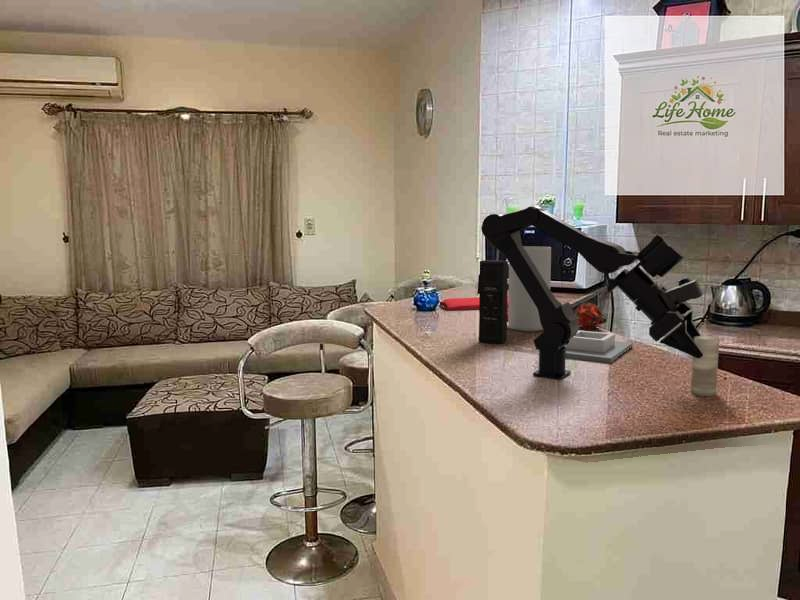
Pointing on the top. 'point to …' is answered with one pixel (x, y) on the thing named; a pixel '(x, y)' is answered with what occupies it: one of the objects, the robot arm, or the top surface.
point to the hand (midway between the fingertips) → (703, 352)
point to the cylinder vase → (520, 302)
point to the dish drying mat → (463, 303)
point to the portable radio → (493, 301)
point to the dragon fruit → (589, 316)
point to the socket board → (595, 347)
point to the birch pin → (705, 366)
